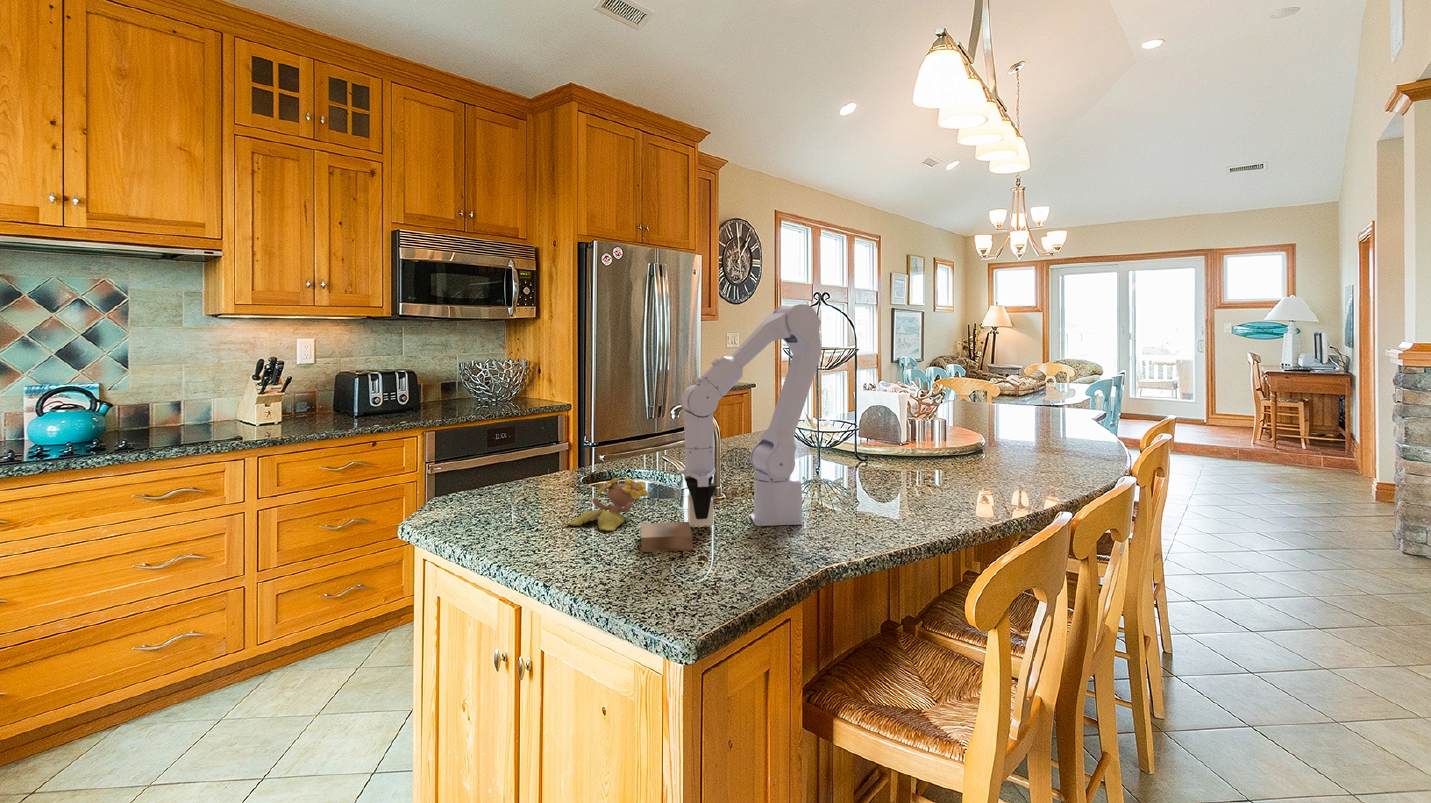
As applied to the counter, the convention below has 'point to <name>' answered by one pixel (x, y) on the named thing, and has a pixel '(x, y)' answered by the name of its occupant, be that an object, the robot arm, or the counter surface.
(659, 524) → the walnut block
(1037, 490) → the counter surface
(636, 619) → the counter surface
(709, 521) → the ceramic cube
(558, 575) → the counter surface
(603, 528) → the figurine
